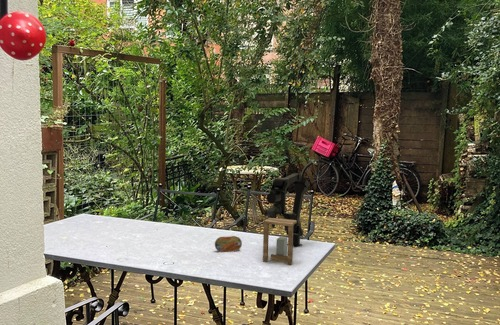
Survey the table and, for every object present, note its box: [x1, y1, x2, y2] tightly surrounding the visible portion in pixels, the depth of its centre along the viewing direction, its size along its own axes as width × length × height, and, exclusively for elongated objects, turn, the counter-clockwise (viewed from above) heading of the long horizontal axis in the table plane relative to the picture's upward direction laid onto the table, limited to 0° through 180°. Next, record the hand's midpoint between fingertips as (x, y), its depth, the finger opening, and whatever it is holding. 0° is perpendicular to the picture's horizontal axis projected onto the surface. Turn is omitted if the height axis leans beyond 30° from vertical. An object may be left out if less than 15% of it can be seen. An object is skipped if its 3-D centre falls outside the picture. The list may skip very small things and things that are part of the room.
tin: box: [214, 235, 243, 253], centre depth 256 cm, size 15×3×8 cm, turn 105°
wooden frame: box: [262, 217, 297, 266], centre depth 239 cm, size 10×15×21 cm, turn 71°
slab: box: [275, 236, 288, 256], centre depth 244 cm, size 7×4×11 cm, turn 161°
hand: (279, 229), depth 255 cm, fingers open, 9 cm apart
